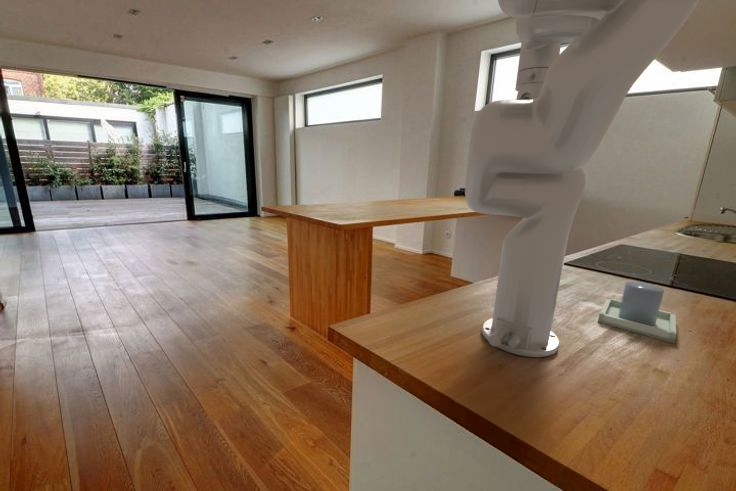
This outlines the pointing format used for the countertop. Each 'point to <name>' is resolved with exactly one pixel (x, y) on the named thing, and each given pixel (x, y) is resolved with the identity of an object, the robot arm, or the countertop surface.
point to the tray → (660, 330)
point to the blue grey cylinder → (641, 303)
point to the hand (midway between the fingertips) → (523, 164)
